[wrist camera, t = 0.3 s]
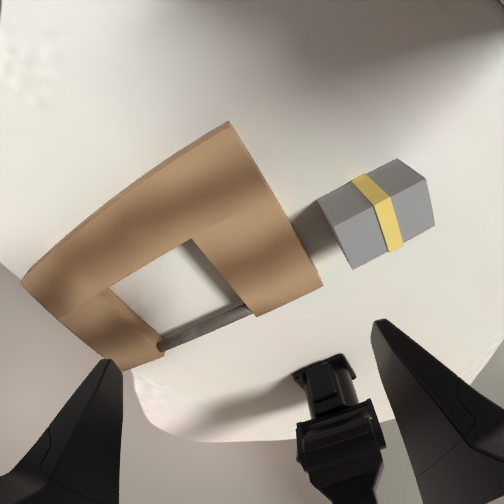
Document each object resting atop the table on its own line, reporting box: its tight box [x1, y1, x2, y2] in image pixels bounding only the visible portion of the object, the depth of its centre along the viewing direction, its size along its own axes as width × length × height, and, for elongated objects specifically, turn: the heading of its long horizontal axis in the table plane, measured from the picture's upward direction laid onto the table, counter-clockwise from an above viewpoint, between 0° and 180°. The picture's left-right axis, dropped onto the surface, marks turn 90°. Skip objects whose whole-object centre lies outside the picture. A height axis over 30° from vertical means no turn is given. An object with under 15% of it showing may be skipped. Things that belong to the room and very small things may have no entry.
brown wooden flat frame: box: [20, 121, 323, 371], centre depth 23 cm, size 14×22×2 cm, turn 119°
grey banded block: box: [317, 159, 435, 270], centre depth 21 cm, size 4×7×4 cm, turn 119°
